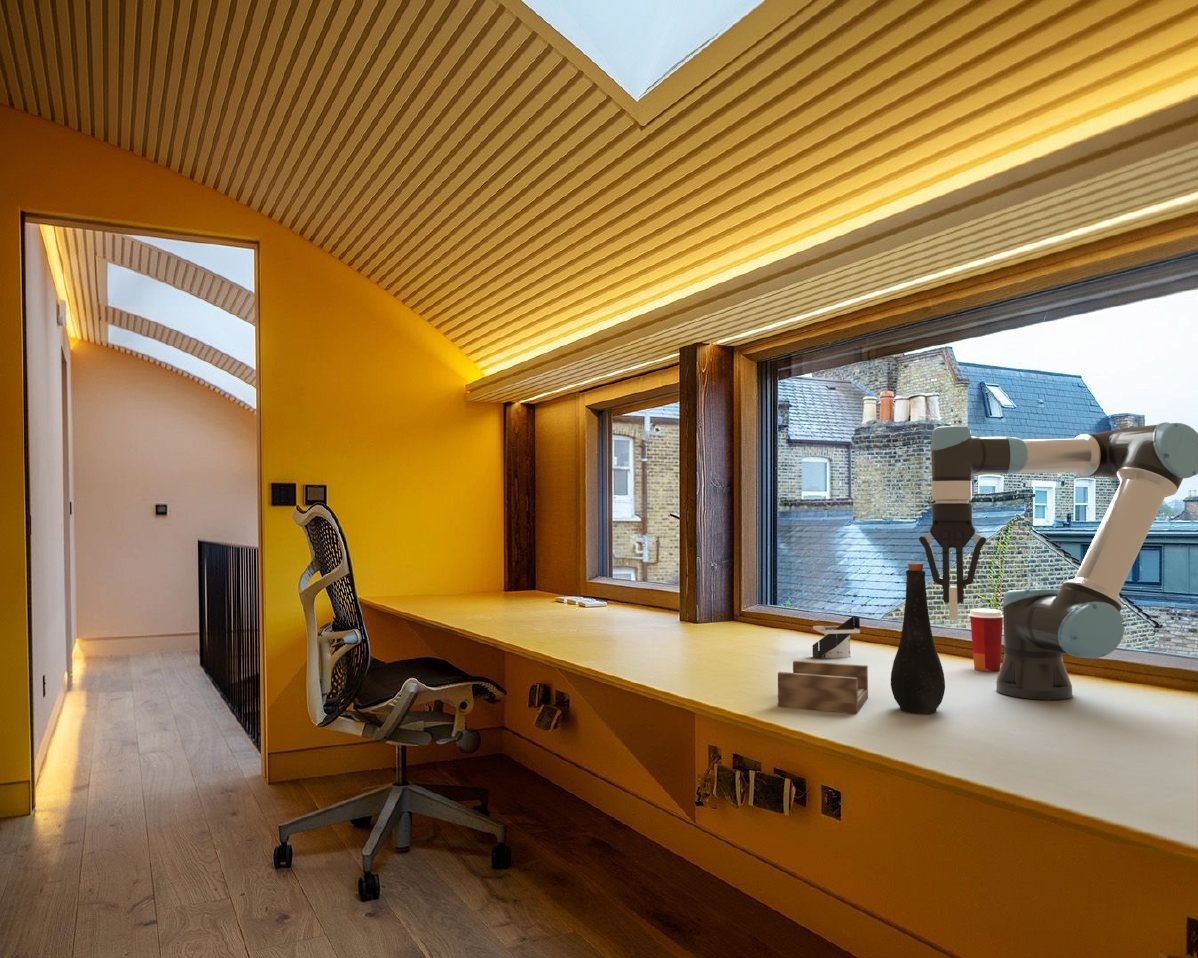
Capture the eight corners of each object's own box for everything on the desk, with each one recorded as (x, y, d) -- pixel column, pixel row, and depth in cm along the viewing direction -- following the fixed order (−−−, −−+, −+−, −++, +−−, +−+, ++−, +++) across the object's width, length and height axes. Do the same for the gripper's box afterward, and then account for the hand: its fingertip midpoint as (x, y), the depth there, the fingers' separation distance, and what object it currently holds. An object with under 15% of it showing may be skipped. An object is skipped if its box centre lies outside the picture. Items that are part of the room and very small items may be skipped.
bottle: (950, 717, 174) (947, 565, 175) (894, 715, 177) (891, 565, 177) (940, 705, 185) (938, 562, 186) (887, 703, 187) (885, 561, 188)
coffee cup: (1007, 668, 225) (1006, 609, 225) (1002, 673, 218) (1001, 612, 218) (972, 665, 230) (971, 607, 230) (966, 670, 223) (965, 610, 223)
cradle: (868, 697, 193) (867, 665, 193) (856, 713, 178) (856, 678, 178) (794, 691, 199) (794, 660, 199) (778, 706, 185) (777, 673, 185)
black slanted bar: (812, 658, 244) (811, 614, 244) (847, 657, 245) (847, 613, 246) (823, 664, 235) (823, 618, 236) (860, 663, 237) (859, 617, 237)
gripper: (987, 502, 180) (989, 618, 179) (919, 502, 185) (921, 615, 184) (986, 502, 173) (988, 623, 172) (916, 502, 178) (918, 619, 177)
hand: (953, 618), depth 178 cm, fingers closed
